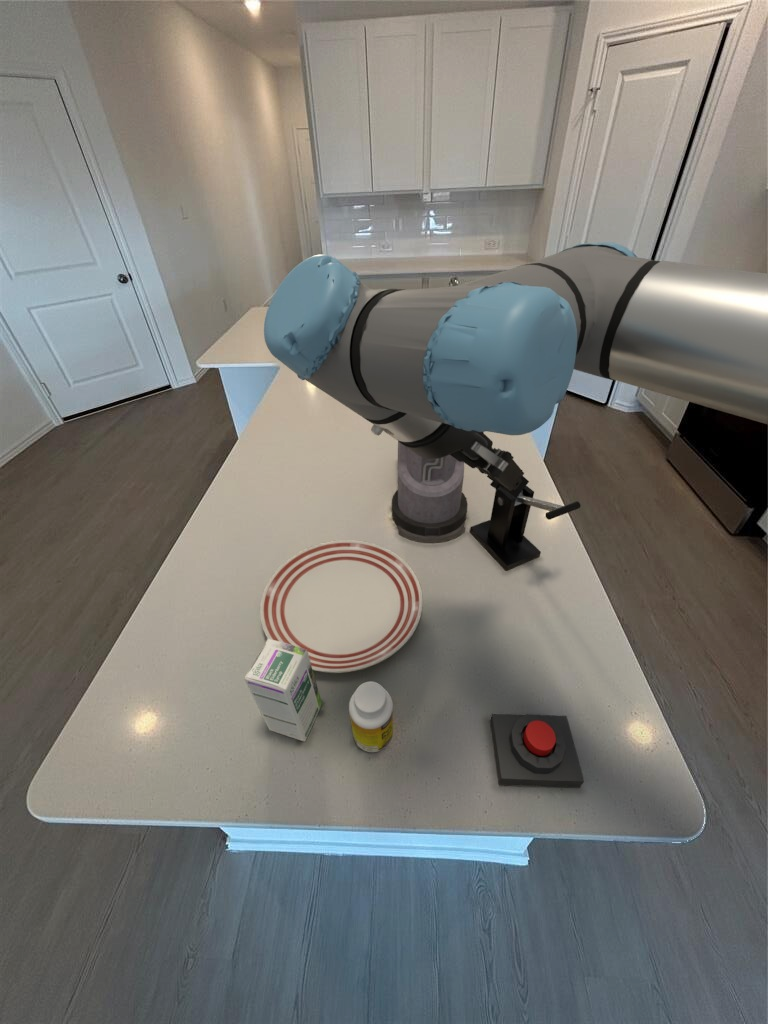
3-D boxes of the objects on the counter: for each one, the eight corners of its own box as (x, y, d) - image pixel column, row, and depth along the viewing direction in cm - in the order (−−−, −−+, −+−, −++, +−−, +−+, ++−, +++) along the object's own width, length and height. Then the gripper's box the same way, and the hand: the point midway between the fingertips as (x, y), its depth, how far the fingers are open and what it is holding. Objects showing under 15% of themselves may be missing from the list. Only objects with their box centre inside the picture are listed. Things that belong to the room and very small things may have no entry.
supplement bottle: (386, 759, 58) (384, 725, 51) (347, 746, 59) (340, 711, 52) (398, 718, 62) (398, 682, 55) (361, 707, 63) (356, 670, 56)
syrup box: (305, 743, 60) (287, 690, 50) (267, 730, 61) (242, 676, 52) (322, 704, 64) (309, 648, 54) (286, 692, 65) (266, 636, 56)
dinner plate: (445, 578, 81) (446, 566, 79) (378, 711, 63) (377, 700, 60) (319, 535, 91) (317, 523, 88) (229, 639, 72) (224, 628, 70)
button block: (562, 722, 61) (569, 709, 58) (579, 787, 55) (588, 776, 52) (489, 720, 61) (493, 707, 59) (498, 785, 55) (503, 773, 53)
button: (548, 726, 57) (551, 720, 56) (555, 756, 54) (559, 750, 53) (520, 725, 57) (523, 719, 56) (526, 755, 54) (529, 749, 53)
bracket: (539, 556, 84) (556, 501, 75) (505, 571, 82) (518, 515, 73) (501, 520, 93) (511, 466, 84) (469, 531, 90) (477, 477, 81)
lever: (581, 512, 69) (580, 498, 69) (551, 524, 68) (550, 509, 67) (522, 497, 82) (520, 484, 81) (496, 506, 80) (494, 494, 79)
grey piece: (472, 542, 88) (488, 435, 72) (392, 544, 88) (390, 438, 72) (453, 458, 111) (462, 363, 95) (389, 460, 111) (387, 365, 95)
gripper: (359, 413, 44) (467, 485, 62) (442, 474, 36) (539, 538, 54) (402, 349, 43) (499, 441, 61) (498, 397, 35) (578, 488, 53)
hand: (518, 487), depth 57 cm, fingers closed
